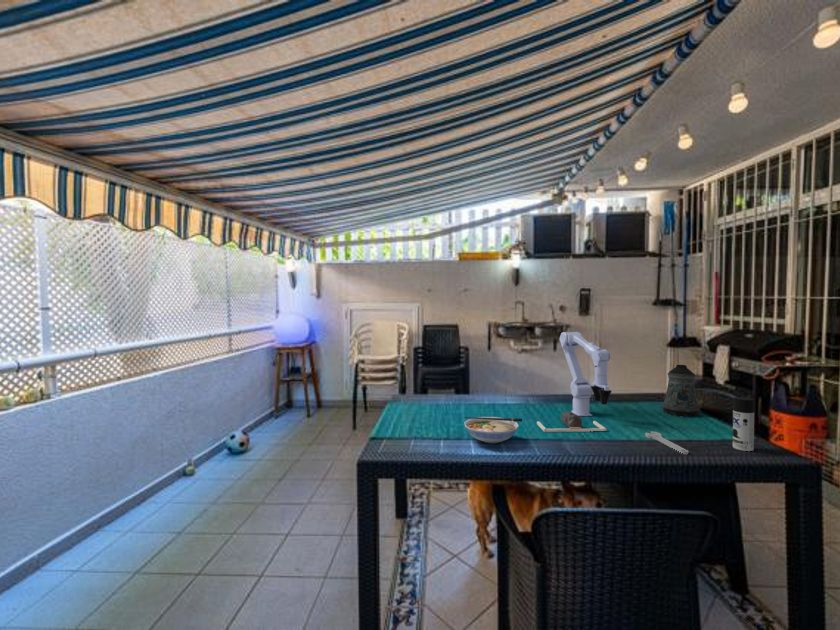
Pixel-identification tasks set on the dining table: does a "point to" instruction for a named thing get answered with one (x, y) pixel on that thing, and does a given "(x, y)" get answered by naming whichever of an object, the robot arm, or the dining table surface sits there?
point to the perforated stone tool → (571, 419)
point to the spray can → (743, 424)
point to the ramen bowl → (491, 428)
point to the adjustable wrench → (665, 441)
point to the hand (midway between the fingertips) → (600, 402)
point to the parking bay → (574, 428)
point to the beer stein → (681, 393)
